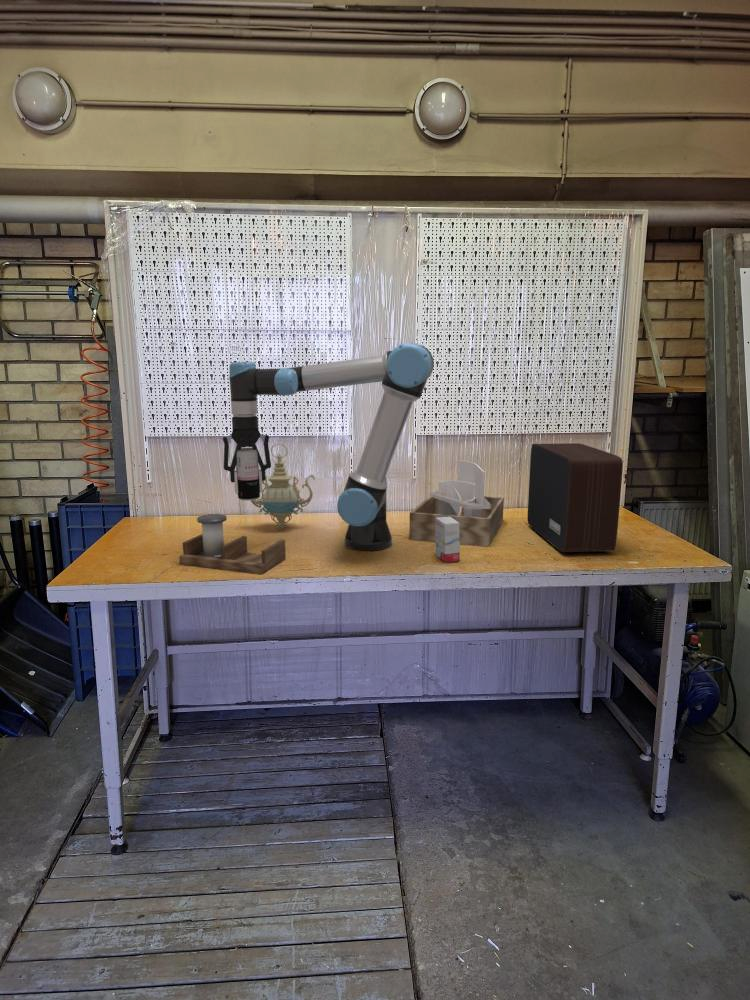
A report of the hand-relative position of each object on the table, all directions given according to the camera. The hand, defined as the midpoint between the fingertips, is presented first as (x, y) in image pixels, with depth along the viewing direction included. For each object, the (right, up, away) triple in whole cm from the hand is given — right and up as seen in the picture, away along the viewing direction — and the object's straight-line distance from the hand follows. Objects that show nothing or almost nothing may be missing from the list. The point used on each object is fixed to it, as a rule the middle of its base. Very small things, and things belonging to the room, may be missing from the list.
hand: (248, 491), depth 188 cm
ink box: (+60, -20, -2) cm, 63 cm away
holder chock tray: (+67, -13, +28) cm, 74 cm away
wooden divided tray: (-3, -21, -6) cm, 22 cm away
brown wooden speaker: (+102, -16, +16) cm, 105 cm away
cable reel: (-10, -19, -3) cm, 22 cm away
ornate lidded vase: (+6, -13, +30) cm, 33 cm away
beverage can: (0, -2, +1) cm, 2 cm away
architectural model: (+69, -14, +28) cm, 75 cm away
